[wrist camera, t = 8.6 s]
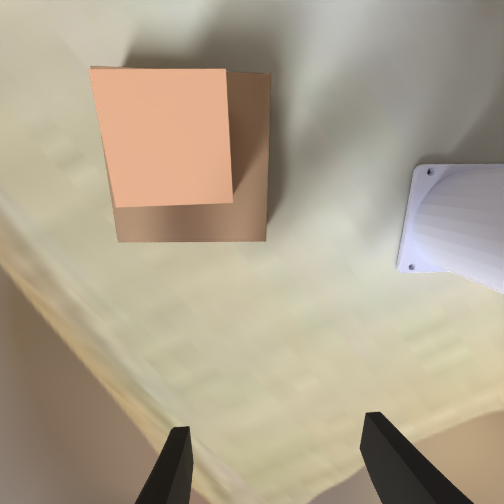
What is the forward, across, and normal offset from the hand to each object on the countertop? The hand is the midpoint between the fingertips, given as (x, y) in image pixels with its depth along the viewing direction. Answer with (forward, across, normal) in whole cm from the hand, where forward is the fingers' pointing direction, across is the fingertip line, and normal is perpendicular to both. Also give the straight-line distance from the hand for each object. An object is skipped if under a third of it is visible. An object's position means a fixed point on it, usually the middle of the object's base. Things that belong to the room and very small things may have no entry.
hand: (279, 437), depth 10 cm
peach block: (+7, +4, -11) cm, 14 cm away
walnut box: (+10, +4, -11) cm, 16 cm away
